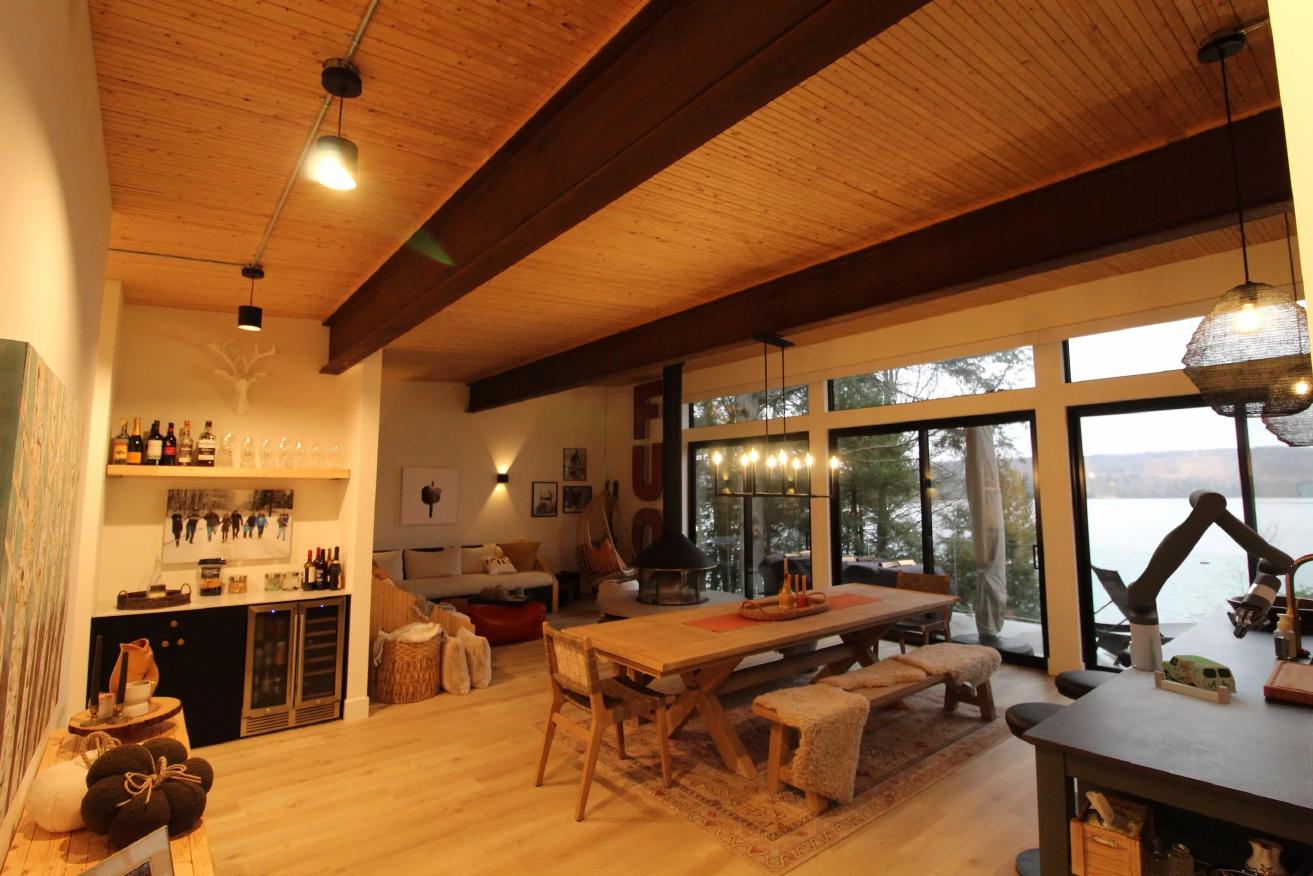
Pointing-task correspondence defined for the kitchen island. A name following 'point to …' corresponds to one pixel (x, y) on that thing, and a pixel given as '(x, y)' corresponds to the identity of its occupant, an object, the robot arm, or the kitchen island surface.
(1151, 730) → the kitchen island surface
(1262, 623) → the robot arm
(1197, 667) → the toy car
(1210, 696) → the rail
